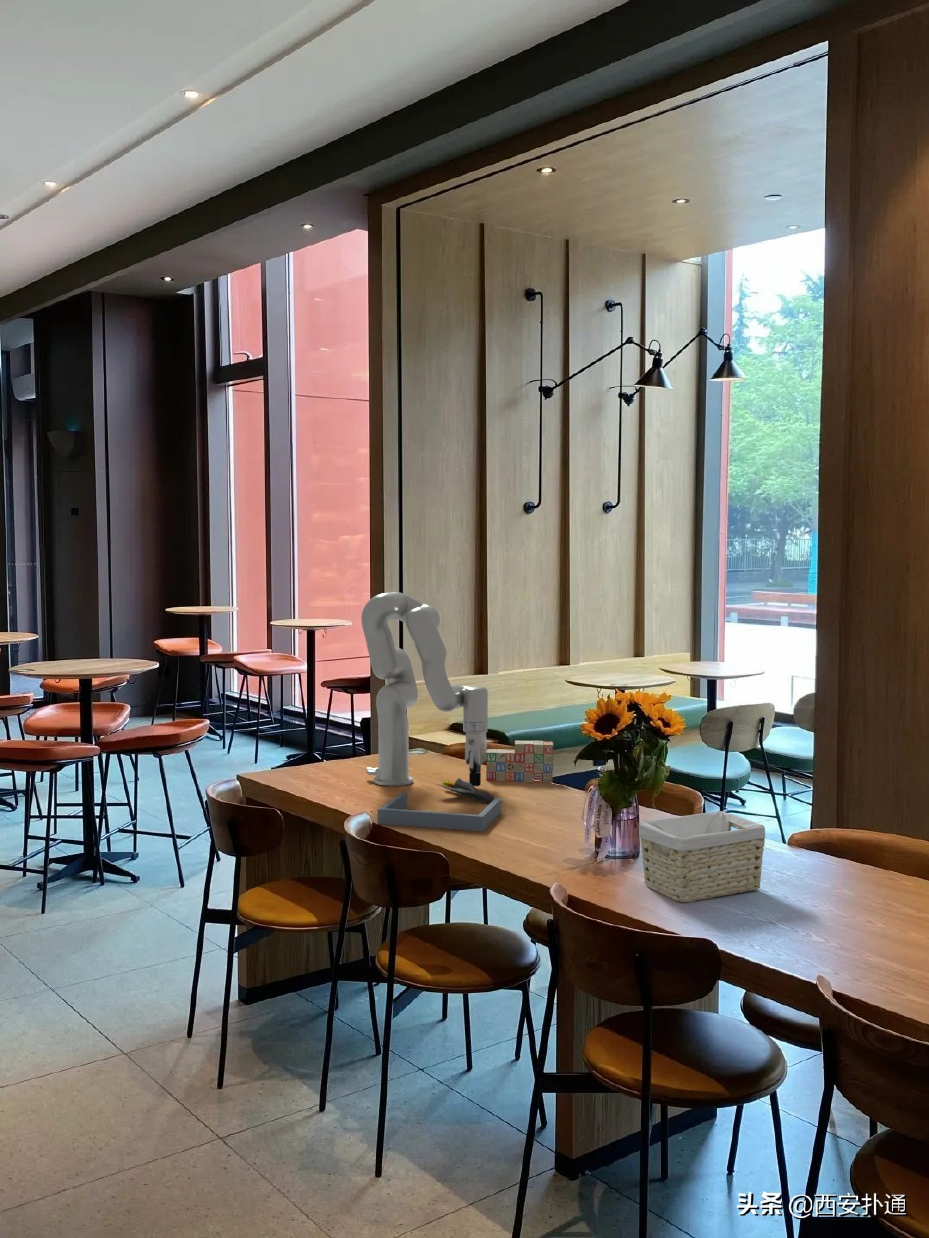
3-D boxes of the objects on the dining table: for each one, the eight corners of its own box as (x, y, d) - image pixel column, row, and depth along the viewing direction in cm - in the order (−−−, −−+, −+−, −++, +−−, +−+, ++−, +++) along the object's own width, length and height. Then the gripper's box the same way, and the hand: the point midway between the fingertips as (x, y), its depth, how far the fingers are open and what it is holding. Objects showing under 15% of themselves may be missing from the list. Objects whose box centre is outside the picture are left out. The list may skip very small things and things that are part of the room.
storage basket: (677, 906, 230) (679, 837, 229) (634, 884, 245) (635, 819, 244) (768, 892, 240) (769, 825, 239) (721, 872, 255) (722, 809, 254)
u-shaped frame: (377, 823, 296) (377, 809, 296) (402, 805, 317) (402, 791, 317) (482, 831, 289) (482, 816, 288) (501, 812, 309) (501, 798, 309)
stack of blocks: (485, 781, 351) (486, 743, 350) (486, 776, 357) (487, 739, 357) (552, 782, 350) (553, 744, 349) (552, 778, 356) (553, 740, 355)
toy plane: (420, 786, 332) (424, 769, 333) (462, 792, 343) (466, 776, 343) (470, 806, 313) (474, 788, 313) (514, 812, 323) (518, 794, 323)
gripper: (481, 731, 330) (481, 791, 332) (492, 723, 345) (492, 781, 346) (457, 729, 332) (457, 789, 333) (469, 722, 347) (469, 779, 348)
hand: (475, 785), depth 340 cm, fingers closed
